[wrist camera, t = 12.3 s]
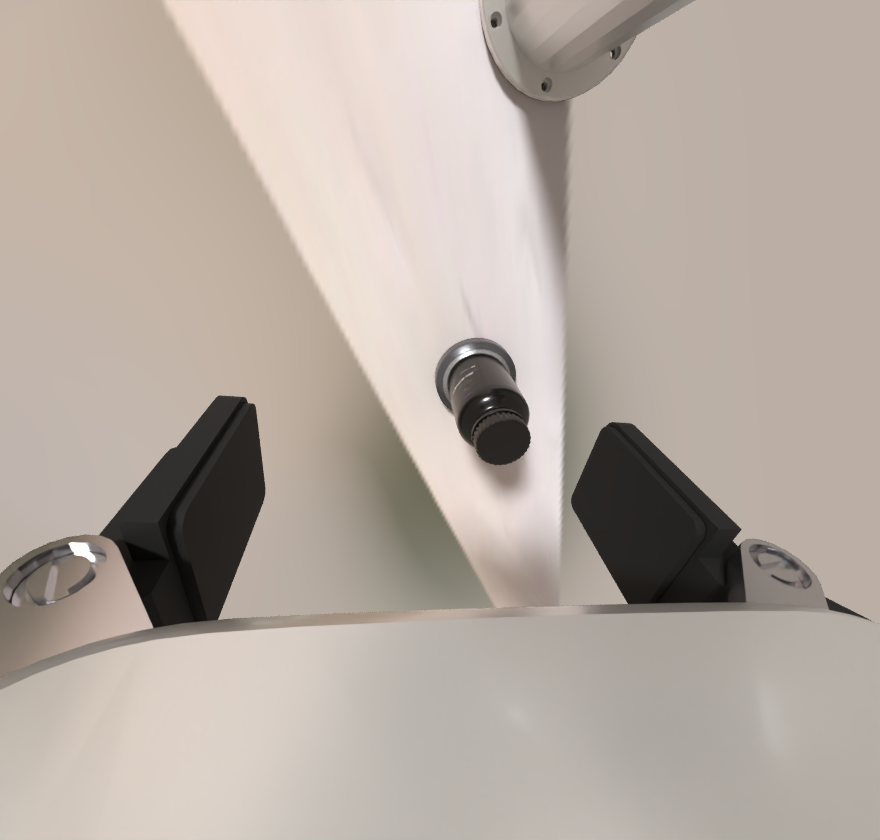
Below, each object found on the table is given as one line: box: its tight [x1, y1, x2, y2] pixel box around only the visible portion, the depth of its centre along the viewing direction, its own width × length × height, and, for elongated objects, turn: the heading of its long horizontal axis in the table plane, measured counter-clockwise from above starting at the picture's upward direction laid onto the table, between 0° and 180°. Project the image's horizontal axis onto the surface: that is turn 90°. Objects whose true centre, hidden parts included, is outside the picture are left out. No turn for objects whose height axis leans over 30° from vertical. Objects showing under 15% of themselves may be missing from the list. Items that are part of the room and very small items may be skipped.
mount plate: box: [435, 338, 516, 411], centre depth 42 cm, size 9×9×2 cm
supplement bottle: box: [447, 353, 531, 465], centre depth 37 cm, size 7×7×12 cm
